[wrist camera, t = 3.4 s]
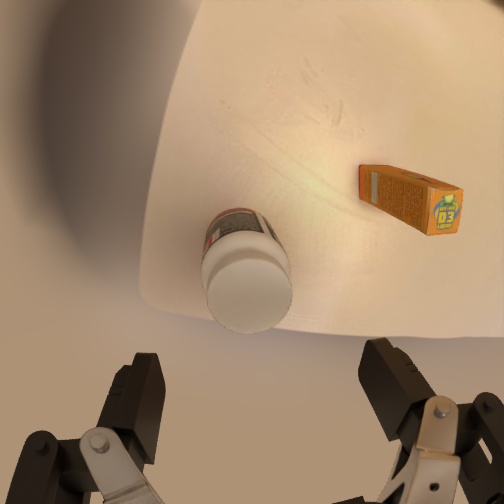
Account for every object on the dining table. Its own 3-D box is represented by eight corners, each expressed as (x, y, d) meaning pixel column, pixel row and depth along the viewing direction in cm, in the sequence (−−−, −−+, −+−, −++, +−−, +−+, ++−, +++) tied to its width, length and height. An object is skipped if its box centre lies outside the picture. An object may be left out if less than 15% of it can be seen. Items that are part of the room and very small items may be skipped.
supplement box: (357, 202, 24) (424, 238, 15) (358, 164, 23) (429, 181, 14) (388, 201, 25) (460, 234, 15) (389, 165, 23) (465, 182, 14)
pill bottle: (195, 255, 25) (180, 320, 16) (223, 195, 23) (221, 230, 14) (255, 280, 26) (271, 351, 17) (285, 224, 25) (320, 274, 15)
